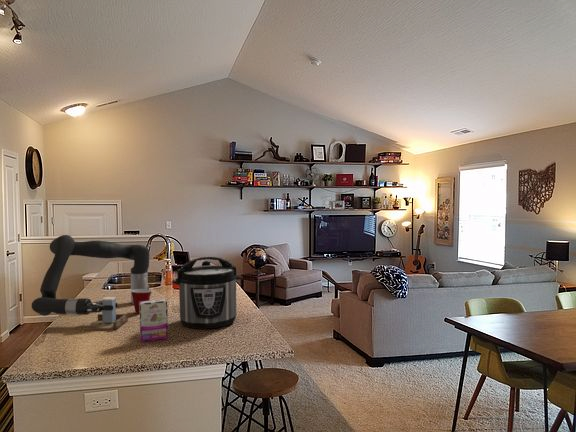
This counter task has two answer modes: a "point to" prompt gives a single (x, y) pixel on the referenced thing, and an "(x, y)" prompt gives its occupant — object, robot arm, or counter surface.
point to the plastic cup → (140, 297)
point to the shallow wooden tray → (101, 326)
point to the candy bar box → (153, 320)
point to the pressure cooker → (207, 293)
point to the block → (109, 315)
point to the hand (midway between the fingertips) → (114, 306)
